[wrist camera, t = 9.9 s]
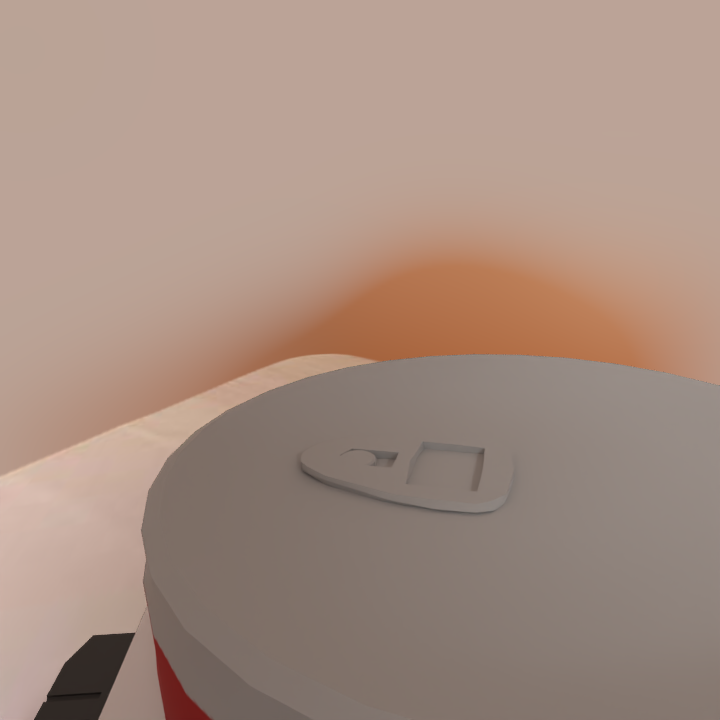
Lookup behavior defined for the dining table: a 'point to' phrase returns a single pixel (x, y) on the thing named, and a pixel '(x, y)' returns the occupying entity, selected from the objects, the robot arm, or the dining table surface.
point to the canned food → (444, 547)
